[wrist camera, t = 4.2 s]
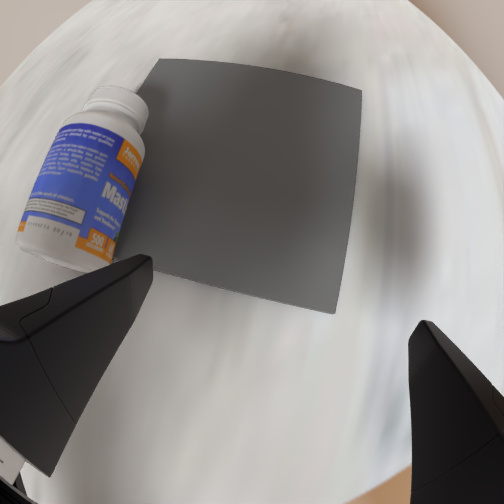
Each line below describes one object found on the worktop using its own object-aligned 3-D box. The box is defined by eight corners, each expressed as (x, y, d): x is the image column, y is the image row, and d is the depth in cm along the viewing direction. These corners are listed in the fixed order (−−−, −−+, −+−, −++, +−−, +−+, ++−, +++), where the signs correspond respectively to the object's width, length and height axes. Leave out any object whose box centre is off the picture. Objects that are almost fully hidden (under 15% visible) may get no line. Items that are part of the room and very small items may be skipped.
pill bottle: (101, 271, 11) (168, 89, 14) (-3, 237, 10) (79, 68, 12) (111, 281, 16) (156, 138, 19) (32, 256, 15) (86, 120, 17)
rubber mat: (332, 314, 15) (334, 313, 15) (70, 244, 16) (66, 242, 16) (360, 94, 19) (361, 90, 19) (160, 62, 20) (159, 58, 20)
